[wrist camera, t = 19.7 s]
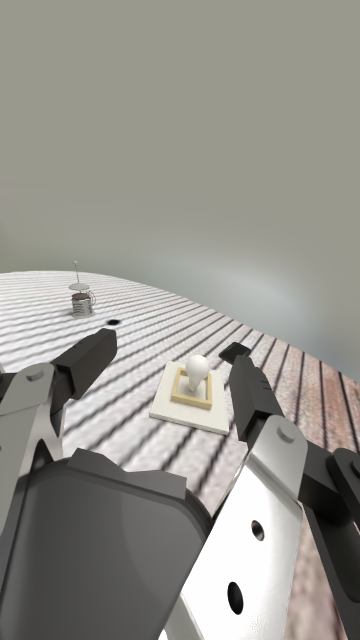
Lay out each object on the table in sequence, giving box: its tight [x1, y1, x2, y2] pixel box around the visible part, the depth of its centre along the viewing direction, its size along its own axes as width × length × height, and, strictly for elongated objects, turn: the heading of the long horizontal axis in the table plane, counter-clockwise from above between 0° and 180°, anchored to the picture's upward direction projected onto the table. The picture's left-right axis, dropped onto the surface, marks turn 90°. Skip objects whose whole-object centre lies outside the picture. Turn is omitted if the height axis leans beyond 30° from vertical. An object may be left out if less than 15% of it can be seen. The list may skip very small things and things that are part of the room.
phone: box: [219, 342, 251, 365], centre depth 62 cm, size 8×1×15 cm
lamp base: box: [150, 361, 229, 435], centre depth 42 cm, size 18×18×4 cm
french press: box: [69, 261, 96, 319], centre depth 70 cm, size 10×12×25 cm
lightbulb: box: [186, 355, 210, 391], centre depth 39 cm, size 6×6×11 cm
